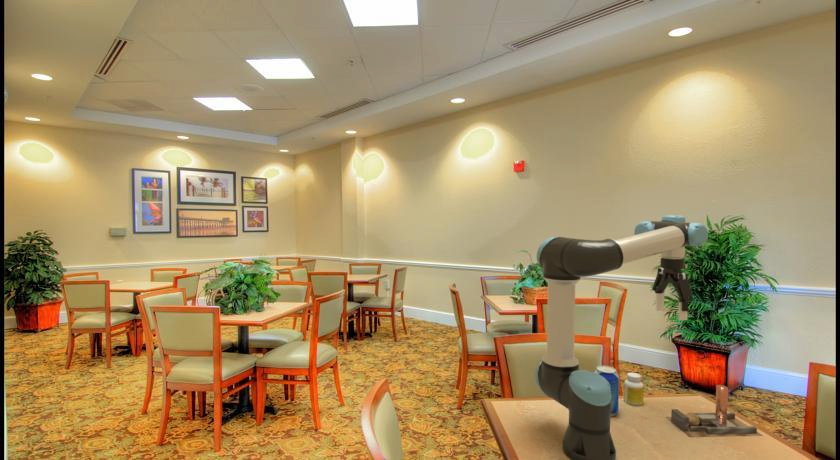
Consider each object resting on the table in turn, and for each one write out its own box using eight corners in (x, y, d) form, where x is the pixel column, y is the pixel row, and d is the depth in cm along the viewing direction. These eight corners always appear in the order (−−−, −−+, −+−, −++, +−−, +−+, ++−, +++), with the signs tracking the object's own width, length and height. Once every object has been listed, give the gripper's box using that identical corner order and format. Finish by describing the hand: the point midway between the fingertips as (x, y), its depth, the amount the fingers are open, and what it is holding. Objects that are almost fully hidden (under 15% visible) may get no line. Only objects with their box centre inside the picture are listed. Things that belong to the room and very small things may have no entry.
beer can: (594, 415, 152) (595, 372, 151) (592, 405, 160) (592, 363, 159) (619, 419, 149) (620, 374, 148) (616, 408, 157) (617, 366, 156)
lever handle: (706, 431, 138) (707, 391, 138) (691, 420, 146) (692, 382, 145) (737, 430, 139) (739, 391, 138) (721, 419, 146) (723, 382, 145)
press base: (689, 440, 135) (690, 423, 135) (664, 420, 148) (665, 404, 148) (762, 439, 136) (763, 422, 136) (732, 418, 149) (732, 403, 149)
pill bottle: (645, 410, 156) (646, 379, 155) (626, 408, 157) (627, 377, 157) (640, 402, 162) (640, 372, 162) (621, 400, 164) (622, 371, 163)
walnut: (689, 429, 140) (689, 416, 139) (680, 422, 144) (681, 410, 144) (702, 429, 140) (702, 416, 140) (693, 422, 144) (693, 410, 144)
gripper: (706, 262, 143) (704, 324, 144) (662, 253, 168) (660, 306, 169) (684, 262, 142) (682, 324, 144) (643, 253, 167) (642, 307, 168)
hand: (670, 315), depth 156 cm, fingers open, 13 cm apart
